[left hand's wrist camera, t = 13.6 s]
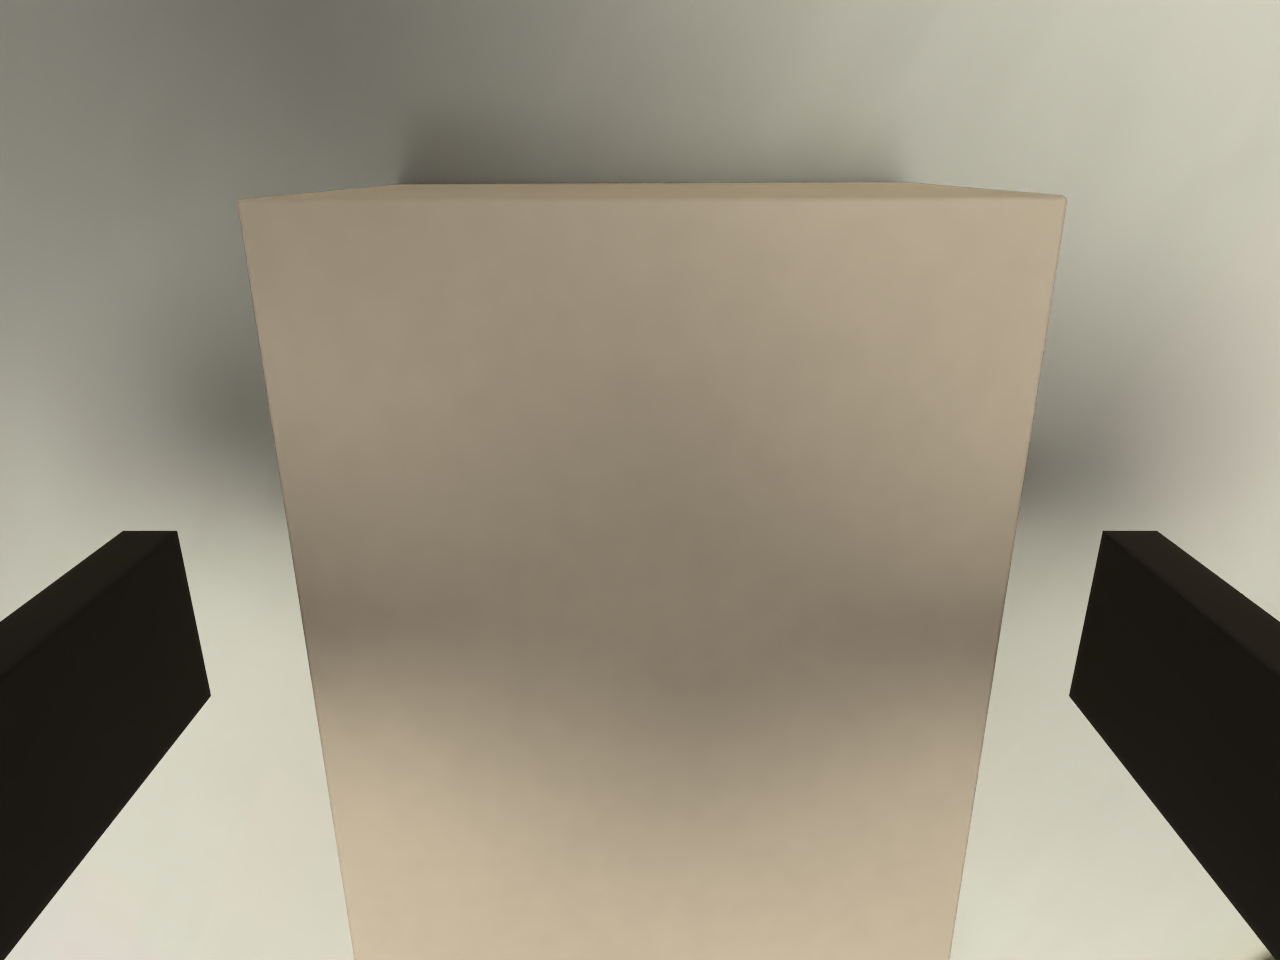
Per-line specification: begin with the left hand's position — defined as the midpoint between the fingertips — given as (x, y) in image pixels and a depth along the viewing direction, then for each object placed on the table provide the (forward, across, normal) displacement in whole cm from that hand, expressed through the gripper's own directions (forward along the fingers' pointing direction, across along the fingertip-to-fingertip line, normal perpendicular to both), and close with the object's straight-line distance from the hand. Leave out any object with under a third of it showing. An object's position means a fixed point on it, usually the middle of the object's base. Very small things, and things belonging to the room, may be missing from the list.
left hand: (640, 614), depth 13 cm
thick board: (+5, 0, -22) cm, 23 cm away
